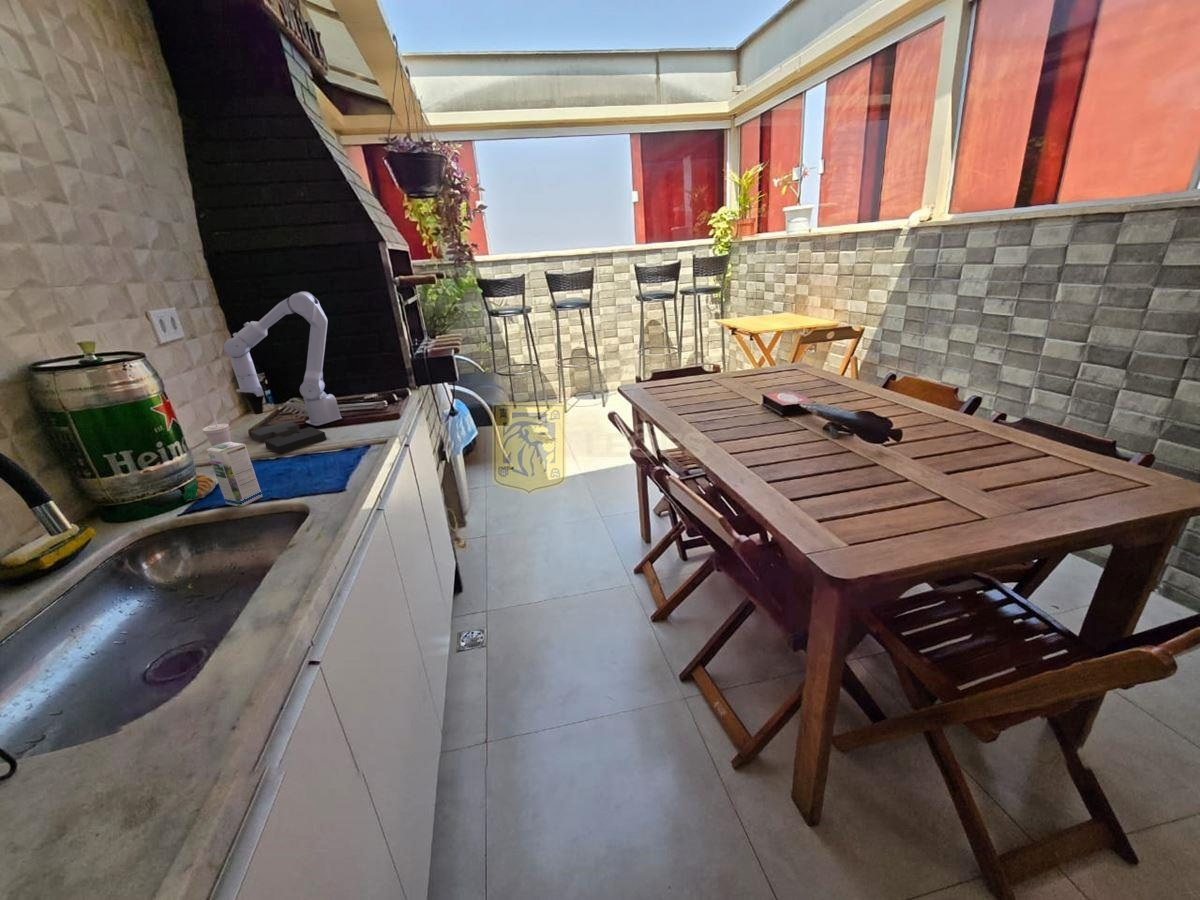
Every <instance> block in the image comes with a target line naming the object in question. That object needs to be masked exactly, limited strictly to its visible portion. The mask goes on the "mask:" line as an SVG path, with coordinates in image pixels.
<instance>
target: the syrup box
mask: <svg viewBox="0 0 1200 900" xmlns="http://www.w3.org/2000/svg"><path fill="white" fill-rule="evenodd" d="M206 453H207V456H208V458H209V461H210V464H211V467H212V469H213V472H214V475H215V478H216V480H217V483H218V485H219V488H220V491H221V494H222V497H223V499H224V501H225V499H226V500H231V501H236V502H240V501H243V500H244V499H247V498H249V497H251V496H253V495H255V494H257V493H259V492H261V493H262V491H261V487H260V484H259V482H258V478H257V476H256V472H255V470H254V467H253V463H252V460H251V458H250V454H249V452H248V449H247V446H246V444H245V443H240V442H233V441H231V442H226V443H222V444H219V445H216V446H213V447H212V446H211V447H208V448H207V449H206ZM261 498H263V493H262V494H261V495H258V496H256V497H254V498H252V499H250V500H248V501H246V502H244V503H242V504H235V503H231V502H227V501H225V504H226V505H230V506H233V507H239V508H243V507H245V506H247V505H249V504H251V503H253V502H256V501H258V500H259V499H261Z"/></svg>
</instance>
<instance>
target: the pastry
mask: <svg viewBox="0 0 1200 900" xmlns="http://www.w3.org/2000/svg"><path fill="white" fill-rule="evenodd" d="M195 476H196V478H197V482H198V484H197V485H198V489H197V492H196V496H199V497H197V498H194V499H188V500H187V501H186V502H188V501H194V500H198V499H203V498H206V496H207V495H210V493H212V492H213V491H214V489H215V488H216V484H217V481H216V480H215V479H213V477H210V476H209V475H206V474H197V475H195Z"/></svg>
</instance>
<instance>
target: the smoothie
mask: <svg viewBox="0 0 1200 900" xmlns="http://www.w3.org/2000/svg"><path fill="white" fill-rule="evenodd" d="M210 414H211V417H212V420H213V422H214V424H211V425H209V426H206V427H204V428H202V434H204V435H205V436H206V438H207V440H208V441H209V443H210V446H211V447H213V446H216V445H219V444H222V443H226V442H232V437H231V432H230V429H231V426H230V425H229V423H218V421H217V418H216V416H215V414H214V412H211V413H210Z"/></svg>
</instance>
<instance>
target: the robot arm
mask: <svg viewBox="0 0 1200 900" xmlns="http://www.w3.org/2000/svg"><path fill="white" fill-rule="evenodd" d="M294 313H296V314H298V315H299V316H301V317H303V319H305V321H306V322H308V323H309V325H310V327H309V329H310V330H309V337H308V338H309V339H308V346H307V347H308V350H307V358H306V366H305V367H306V368H305V372H304V376H303V382H302V383H301V384H300V386H299V394H300V395H301V396H302V397H303V402H304V405H305V409H306V412H307V415H308V419H307V420H306V421H305V423H306V424H309V425H311V426H314V427H319V426H323V425H325V424H328V423H333V422H335V421H339V420H342V419H343V417H342V416H341V412H340V408H339V404H338V401H337V399H336V397H335V395H333V394H332V393H329V394H327V393H326V392H325V391H324V390H325V387H326V384H325V382H324V372H323V368H324V360H325V359H324V358H325V350H326V343H327V342H326V341H327V333H328V332H327V331H328V323H329V321H328V317H327V316H326V314H325V311H324V310H323V308H322V306H321V304H320V301H319V300H318V298H316V297H315V296H314V295H313V294H312V293H311V292H309V291H303V290H302V291H298V292H295V293H293V294H292V295H290V296H289V297H287V298H285V299H283V300H281V301H280V302H278V303H277V304H276V305H275V306H274V307H273V308H272V309H271V310H270V311H268V313H266V314H265V315H264V316H263V317H262V318H261V319H259V321H256V320H255V321H254V320H251V321H250V322H249V321H247V322H245V323H243V328H241V329H240V330H239V331H238V332H233V334H232V336H233V337H232V338H229V339H226V341H225V342H224V344H223V351H224V353H225V354H227V355H228V356H229V360H230V362H231V365H232V369H233V373H234V375H235V379H236V381H237V384H238V387H239V388H238V389H236V390H235V391H236V393H243V394H241V395H240V397H241V398H243V400H244V401H245V402H246V403H247V404H248V406H249V407H250V410H251V411H252V413H254V415H261V414H263V413H264V406H263V405H264V404H263V403H264V397H265V393H264V389H263V386H262V385H261V383H260V380H259V377H258V373H257V371H256V368H255V364H254V360H253V358H252V356H251V353H250V351H251V349H253V348H254V347H255V346H257V344H259V343H260V342H261V341H262V340H263V339H264V338H266V337H267V336H268V329H270V327H272V326H273V325H274V324H276V323H277V322H278V321H279V320H281V319H282V318H283V317H285V316H286V315H292V314H294Z"/></svg>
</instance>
